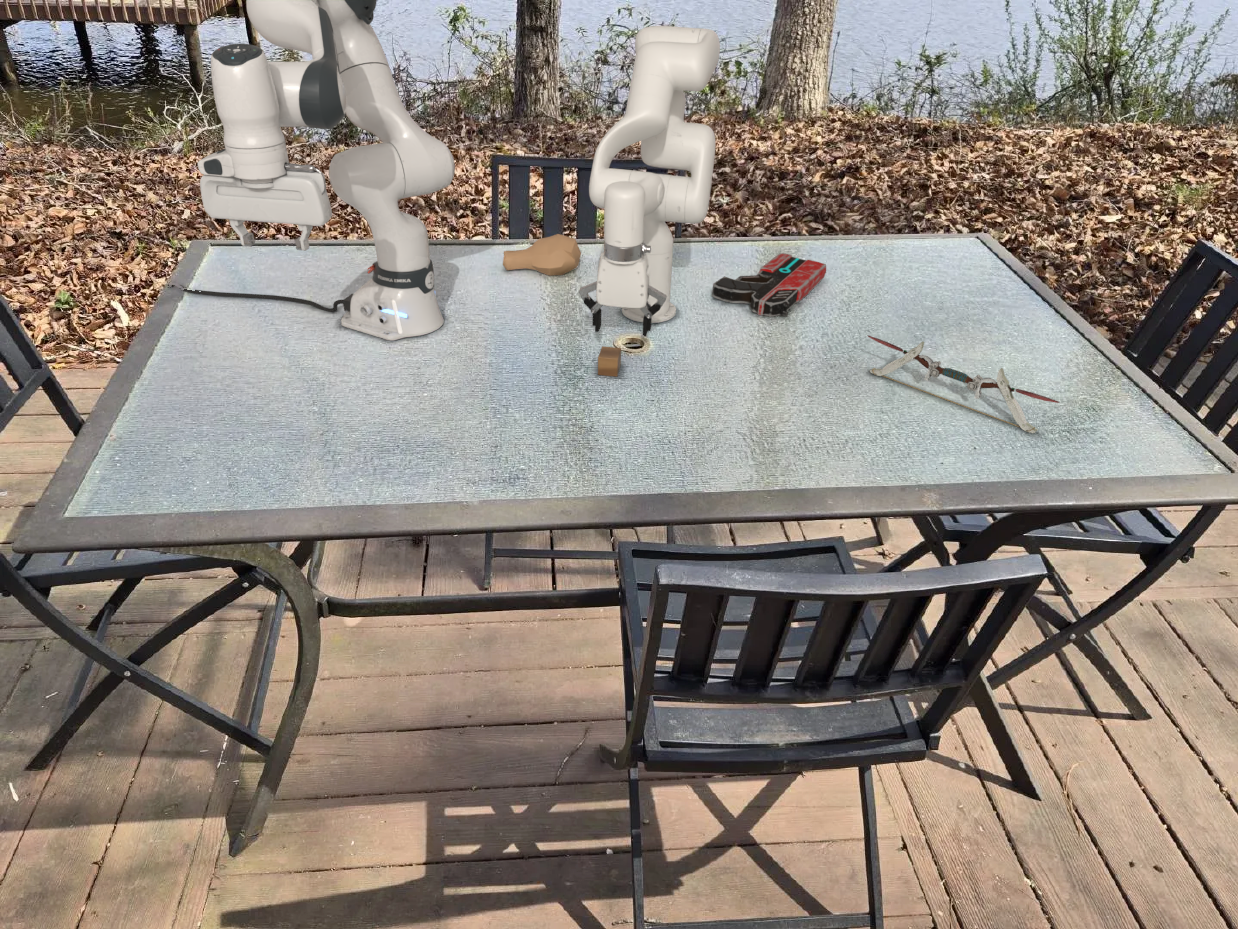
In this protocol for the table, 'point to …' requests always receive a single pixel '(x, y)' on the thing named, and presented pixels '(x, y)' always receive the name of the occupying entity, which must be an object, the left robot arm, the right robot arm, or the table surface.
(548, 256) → the squash
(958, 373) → the bow
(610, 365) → the block
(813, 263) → the gun
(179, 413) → the table surface
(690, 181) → the right robot arm
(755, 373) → the table surface
